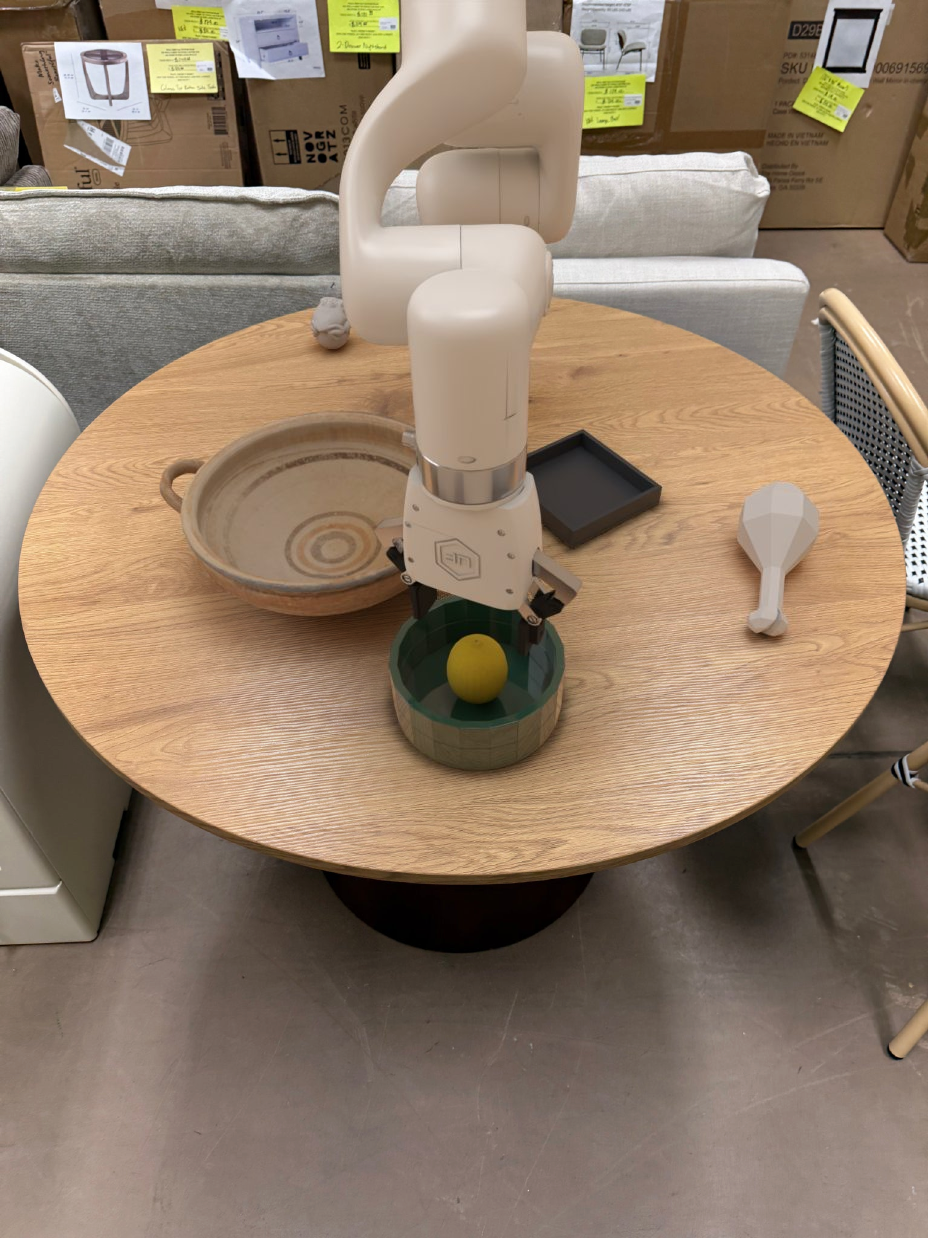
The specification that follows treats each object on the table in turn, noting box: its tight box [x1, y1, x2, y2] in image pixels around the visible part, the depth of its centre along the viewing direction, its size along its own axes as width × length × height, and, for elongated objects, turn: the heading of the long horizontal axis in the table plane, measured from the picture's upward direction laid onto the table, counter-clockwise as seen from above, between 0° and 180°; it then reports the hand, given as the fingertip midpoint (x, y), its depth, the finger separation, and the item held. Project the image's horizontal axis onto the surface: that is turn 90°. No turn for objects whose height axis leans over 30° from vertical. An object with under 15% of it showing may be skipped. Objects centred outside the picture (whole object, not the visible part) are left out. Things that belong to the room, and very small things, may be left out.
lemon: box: [447, 634, 508, 704], centre depth 74 cm, size 6×6×8 cm
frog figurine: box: [310, 296, 352, 350], centre depth 119 cm, size 6×7×7 cm
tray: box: [526, 428, 663, 550], centre depth 96 cm, size 14×13×3 cm
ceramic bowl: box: [159, 410, 417, 617], centre depth 87 cm, size 37×29×10 cm
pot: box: [388, 595, 566, 771], centre depth 75 cm, size 16×16×6 cm
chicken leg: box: [736, 480, 820, 637], centre depth 84 cm, size 8×18×8 cm, turn 165°
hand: (476, 626), depth 69 cm, fingers open, 9 cm apart
